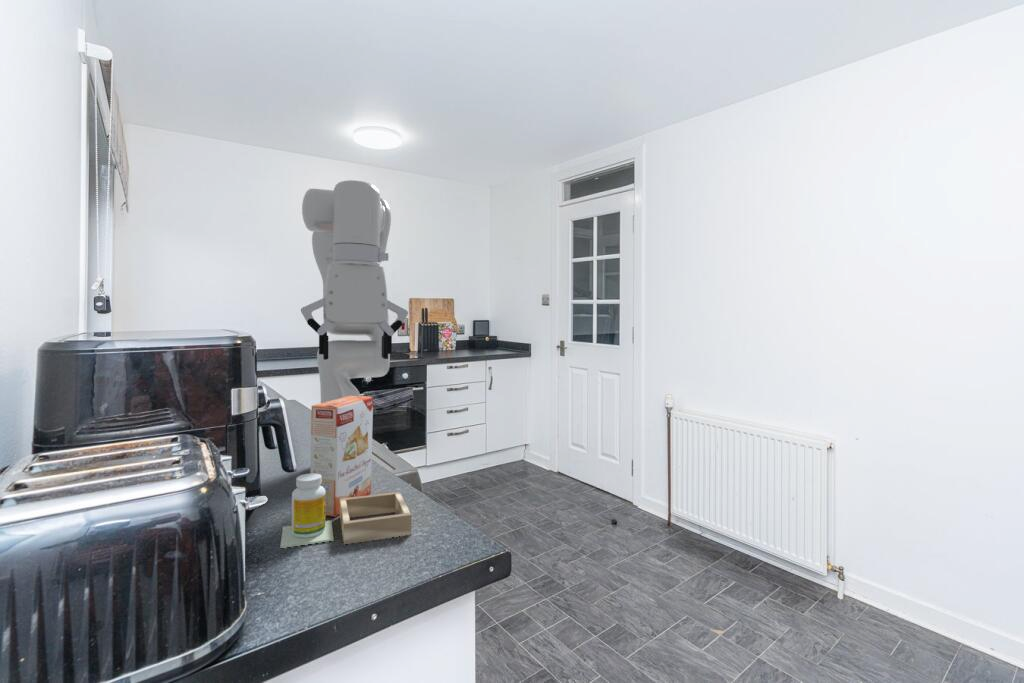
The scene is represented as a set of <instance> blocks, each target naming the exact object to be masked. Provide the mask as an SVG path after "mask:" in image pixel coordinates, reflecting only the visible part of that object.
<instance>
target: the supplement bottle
mask: <svg viewBox="0 0 1024 683" xmlns="http://www.w3.org/2000/svg"><path fill="white" fill-rule="evenodd" d="M321 483H322V476H321V475H320V474H316V473H305V474H301V475H298V476H297V477H296V478H295V486H296V488H295V489H294V490H292V493H291V525H290V526H291V529H292V534H293V536H295V537H299V538H310V537H314V536H317V535H319V534H321V533H322V532H323V531H324V530H325V521H326V516H325V505H326V491H325V489H324V487H322V486H320V485H321Z"/></svg>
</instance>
